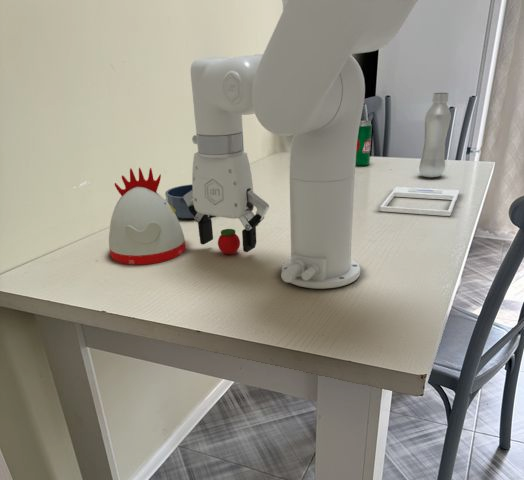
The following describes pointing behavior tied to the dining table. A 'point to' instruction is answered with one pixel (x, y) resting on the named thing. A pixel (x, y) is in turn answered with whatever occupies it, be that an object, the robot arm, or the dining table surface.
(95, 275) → the dining table surface
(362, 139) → the soda can
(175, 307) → the dining table surface
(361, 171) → the dining table surface
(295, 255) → the robot arm
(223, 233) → the red tomato
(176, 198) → the bowl
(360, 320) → the dining table surface
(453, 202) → the photo frame
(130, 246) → the kitchen timer
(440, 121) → the plastic bottle
